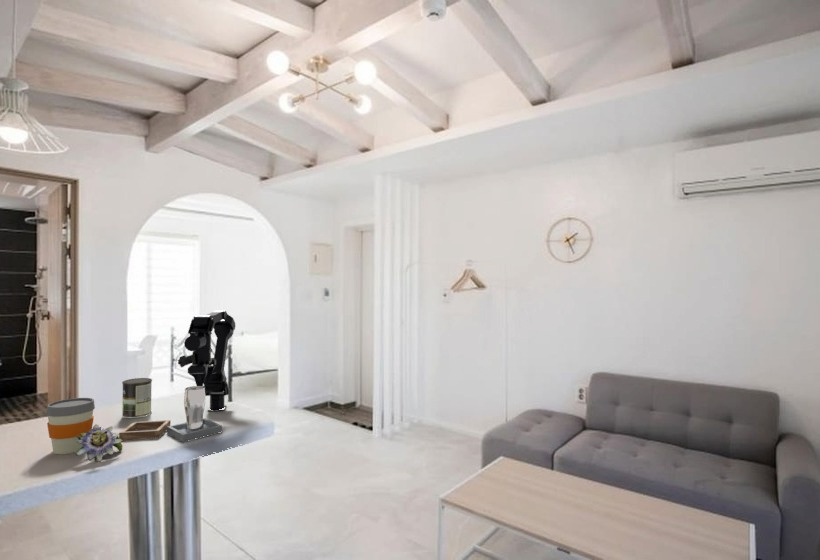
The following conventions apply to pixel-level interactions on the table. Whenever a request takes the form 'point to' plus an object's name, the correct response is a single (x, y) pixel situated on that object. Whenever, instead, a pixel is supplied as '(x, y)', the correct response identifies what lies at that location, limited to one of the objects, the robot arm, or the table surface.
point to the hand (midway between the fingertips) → (202, 387)
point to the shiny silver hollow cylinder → (194, 407)
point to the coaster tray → (182, 435)
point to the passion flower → (98, 442)
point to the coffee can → (136, 397)
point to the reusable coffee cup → (69, 423)
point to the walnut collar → (131, 434)
